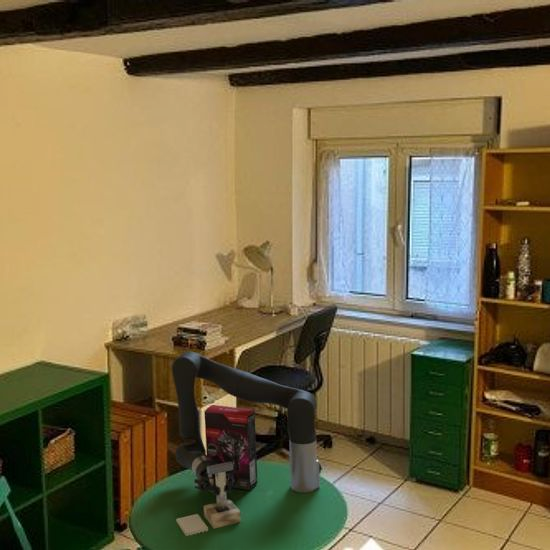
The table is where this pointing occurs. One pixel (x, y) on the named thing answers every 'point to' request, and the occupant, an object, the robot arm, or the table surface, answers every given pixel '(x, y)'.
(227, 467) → the t key
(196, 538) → the table surface
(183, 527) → the beige flat plate
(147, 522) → the table surface
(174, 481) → the table surface
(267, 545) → the table surface
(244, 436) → the graphics card box
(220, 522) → the slot block
